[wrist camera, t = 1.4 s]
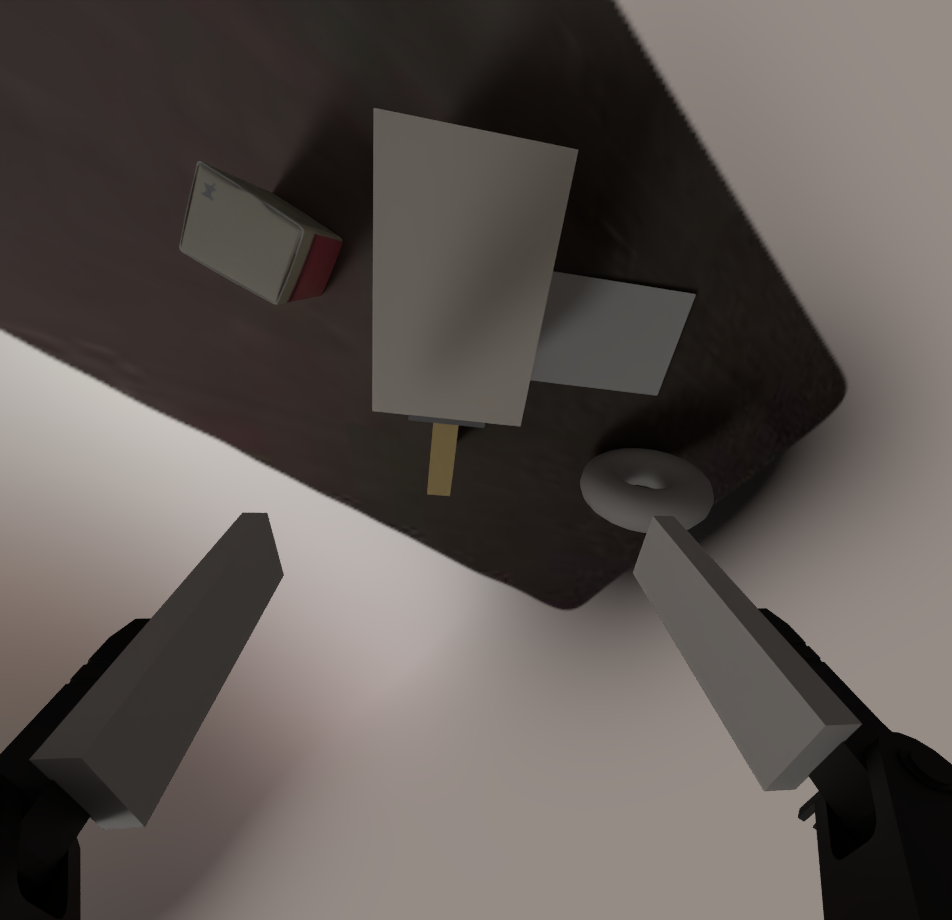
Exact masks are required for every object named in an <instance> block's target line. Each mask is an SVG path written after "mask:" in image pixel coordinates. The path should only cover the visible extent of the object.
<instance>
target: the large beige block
mask: <svg viewBox="0 0 952 920" xmlns="http://www.w3.org/2000/svg"><path fill="white" fill-rule="evenodd" d="M577 154H578V150H577V149H573V148H568V147H563V146H558V145H553V144H548V143H543V142H538V141H534V140H529V139H524V138H519V137H514V136H509V135H504V134H499V133H494V132H490V131H485V130H480V129H475V128H470V127H465V126H460V125H455V124H450V123H446V122H441V121H436V120H431V119H426V118H421V117H416V116H411V115H407V114H402V113H397V112H392V111H387V110H382V109H377V108H374V131H373V383H372V411H378V412H387V413H397V414H406V415H409V420H412V421H421V422H431V423H441V424H450V425H460V426H470V427H479V428H484V427H485V423H492V424H502V425H511V426H521V421H522V416H523V412H524V407H525V402H526V397H527V393H528V388H529V383H530V378H531V373H532V369H533V364H534V359H535V354H536V350H537V345H538V340H539V335H540V331H541V326H542V321H543V316H544V312H545V307H546V302H547V297H548V292H549V288H550V283H551V278H552V273H553V269H554V264H555V259H556V254H557V250H558V245H559V240H560V235H561V230H562V226H563V221H564V216H565V211H566V207H567V202H568V197H569V192H570V188H571V183H572V178H573V173H574V168H575V164H576V159H577Z"/></svg>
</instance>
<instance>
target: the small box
mask: <svg viewBox="0 0 952 920" xmlns="http://www.w3.org/2000/svg"><path fill="white" fill-rule="evenodd" d="M342 244H343V240H342V238H341V237H339V236H338V235H336V234H335V233H333V232H332V231H330V230H329V229H327V228H326V227H325V226H323V225H322V224H320V223H318V222H317V221H315V220H314V219H312V218H311V217H309V216H308V215H306V214H305V213H303V212H301V211H300V210H298V209H297V208H295V207H294V206H292V205H290V204H289V203H287V202H286V201H284V200H283V199H281V198H279V197H278V196H276V195H275V194H273V193H271V192H269V191H266V190H264V189H262V188H259V187H257V186H255V185H253V184H251V183H248V182H246V181H244V180H241V179H239V178H237V177H235V176H232V175H230V174H228V173H226V172H224V171H222V170H219V169H217V168H215V167H213V166H211V165H209V164H206V163H204V162H202V161H198V162H197V166H196V171H195V175H194V179H193V183H192V187H191V191H190V196H189V200H188V205H187V209H186V215H185V219H184V225H183V230H182V236H181V242H180V246H179V248H180V250H181V251H182V252H183V253H185V254H186V255H188V256H190V257H191V258H193V259H195V260H196V261H198V262H200V263H201V264H203V265H205V266H206V267H208V268H210V269H211V270H213V271H215V272H217V273H218V274H220V275H222V276H224V277H225V278H227V279H229V280H231V281H233V282H234V283H236V284H238V285H240V286H242V287H243V288H245V289H247V290H249V291H251V292H253V293H255V294H256V295H258V296H260V297H262V298H264V299H266V300H268V301H270V302H271V303H273V304H276V305H277V304H282V303H287V302H291V301H296V300H302V299H307V298H312V297H316V296H321V295H322V293H323V291H324V289H325V286H326V284H327V282H328V280H329V277H330V275H331V272H332V270H333V268H334V265H335V262H336V260H337V257H338V255H339V252H340V249H341V246H342Z"/></svg>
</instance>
